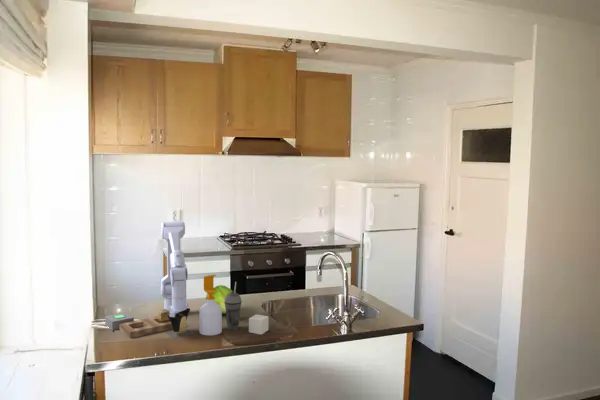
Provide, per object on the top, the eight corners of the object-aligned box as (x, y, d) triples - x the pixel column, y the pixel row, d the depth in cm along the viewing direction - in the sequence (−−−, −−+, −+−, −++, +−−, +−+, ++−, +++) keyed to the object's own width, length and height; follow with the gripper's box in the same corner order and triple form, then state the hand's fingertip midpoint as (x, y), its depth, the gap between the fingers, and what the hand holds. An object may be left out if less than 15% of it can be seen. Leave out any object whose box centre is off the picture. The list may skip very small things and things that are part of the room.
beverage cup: (224, 325, 219) (224, 279, 217) (241, 325, 220) (241, 279, 218) (223, 331, 212) (223, 284, 210) (241, 331, 213) (241, 284, 211)
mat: (184, 328, 215) (184, 327, 215) (194, 335, 208) (194, 333, 208) (164, 333, 209) (164, 332, 209) (173, 339, 202) (173, 338, 202)
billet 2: (181, 330, 211) (181, 313, 210) (186, 333, 208) (186, 316, 207) (172, 332, 209) (172, 315, 208) (177, 335, 206) (176, 318, 205)
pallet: (170, 320, 225) (169, 313, 225) (182, 328, 216) (182, 321, 215) (119, 331, 211) (119, 324, 211) (130, 339, 202) (130, 332, 202)
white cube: (255, 328, 217) (256, 314, 217) (268, 330, 215) (268, 316, 214) (248, 332, 212) (248, 318, 211) (261, 334, 209) (261, 320, 209)
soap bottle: (203, 338, 204) (203, 277, 202) (196, 330, 213) (196, 272, 210) (224, 334, 209) (224, 275, 206) (217, 327, 217) (217, 270, 214)
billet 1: (166, 324, 220) (166, 308, 219) (170, 327, 216) (169, 311, 216) (157, 326, 217) (157, 310, 216) (161, 329, 214) (160, 313, 213)
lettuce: (211, 322, 223) (211, 296, 222) (203, 309, 242) (203, 284, 240) (242, 319, 227) (242, 293, 226) (232, 306, 246) (232, 282, 245)
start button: (122, 321, 219) (122, 314, 219) (125, 323, 217) (125, 316, 216) (113, 323, 217) (113, 316, 217) (116, 325, 214) (116, 318, 214)
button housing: (126, 321, 223) (126, 312, 223) (133, 326, 216) (133, 317, 216) (105, 325, 218) (105, 316, 217) (112, 331, 211) (112, 321, 210)
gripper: (177, 290, 215) (177, 322, 216) (162, 300, 200) (162, 334, 202) (193, 291, 214) (193, 323, 215) (179, 301, 199) (179, 335, 201)
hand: (179, 329), depth 208 cm, fingers closed on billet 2, 6 cm apart
